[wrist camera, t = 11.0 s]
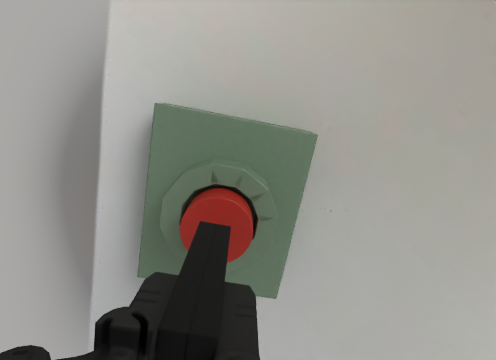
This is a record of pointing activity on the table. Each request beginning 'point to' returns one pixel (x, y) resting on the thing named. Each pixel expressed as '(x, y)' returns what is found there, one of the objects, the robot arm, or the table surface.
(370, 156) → the table surface
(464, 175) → the table surface
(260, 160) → the button box
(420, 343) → the table surface
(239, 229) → the button
